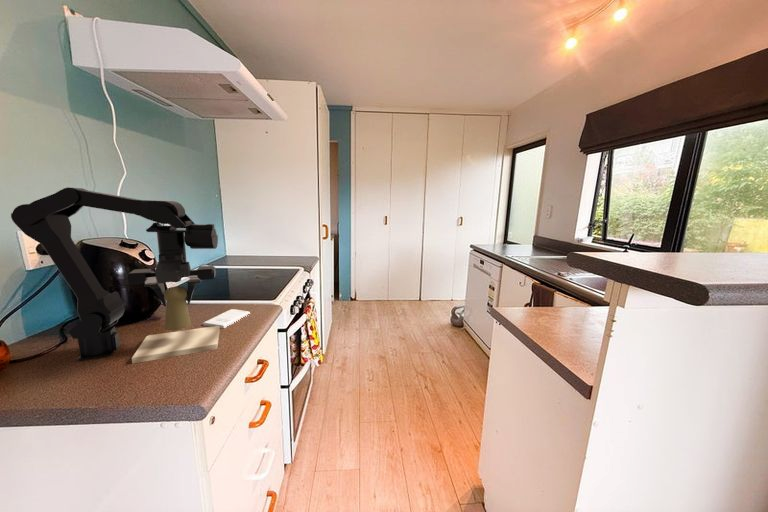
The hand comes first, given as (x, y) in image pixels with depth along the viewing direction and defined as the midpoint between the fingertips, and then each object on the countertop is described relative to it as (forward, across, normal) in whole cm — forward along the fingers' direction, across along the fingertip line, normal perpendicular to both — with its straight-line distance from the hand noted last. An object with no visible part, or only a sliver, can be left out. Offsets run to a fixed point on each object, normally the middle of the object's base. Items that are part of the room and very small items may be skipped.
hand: (177, 304), depth 76 cm
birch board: (+12, 0, 0) cm, 12 cm away
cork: (+6, 0, 0) cm, 6 cm away
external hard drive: (+13, +11, +15) cm, 22 cm away
